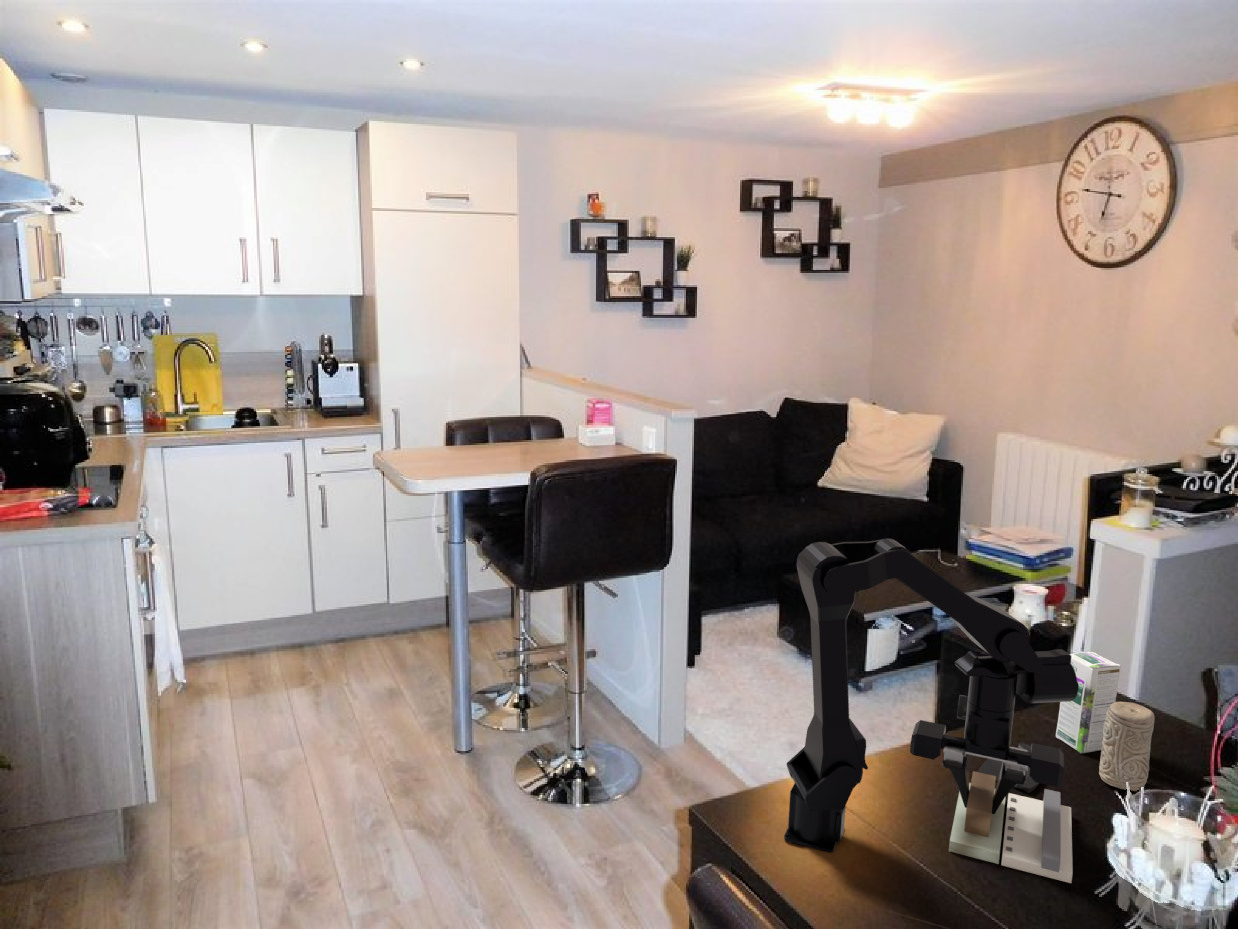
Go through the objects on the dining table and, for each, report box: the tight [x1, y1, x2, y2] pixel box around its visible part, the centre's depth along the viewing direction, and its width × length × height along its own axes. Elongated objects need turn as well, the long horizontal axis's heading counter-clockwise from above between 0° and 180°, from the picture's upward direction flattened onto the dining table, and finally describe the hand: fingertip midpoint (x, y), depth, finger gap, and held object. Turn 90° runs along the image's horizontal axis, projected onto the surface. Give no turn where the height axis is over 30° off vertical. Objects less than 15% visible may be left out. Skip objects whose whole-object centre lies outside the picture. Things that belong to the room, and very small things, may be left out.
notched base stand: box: [1001, 788, 1074, 884], centre depth 122 cm, size 8×17×3 cm, turn 155°
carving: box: [1098, 701, 1155, 792], centre depth 135 cm, size 6×8×12 cm
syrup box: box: [1055, 651, 1122, 754], centre depth 146 cm, size 6×6×14 cm
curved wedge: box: [977, 741, 1040, 794], centre depth 140 cm, size 8×14×2 cm, turn 137°
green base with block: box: [948, 770, 1007, 865], centre depth 124 cm, size 6×16×5 cm, turn 155°
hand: (979, 809), depth 124 cm, fingers closed on green base with block, 3 cm apart
